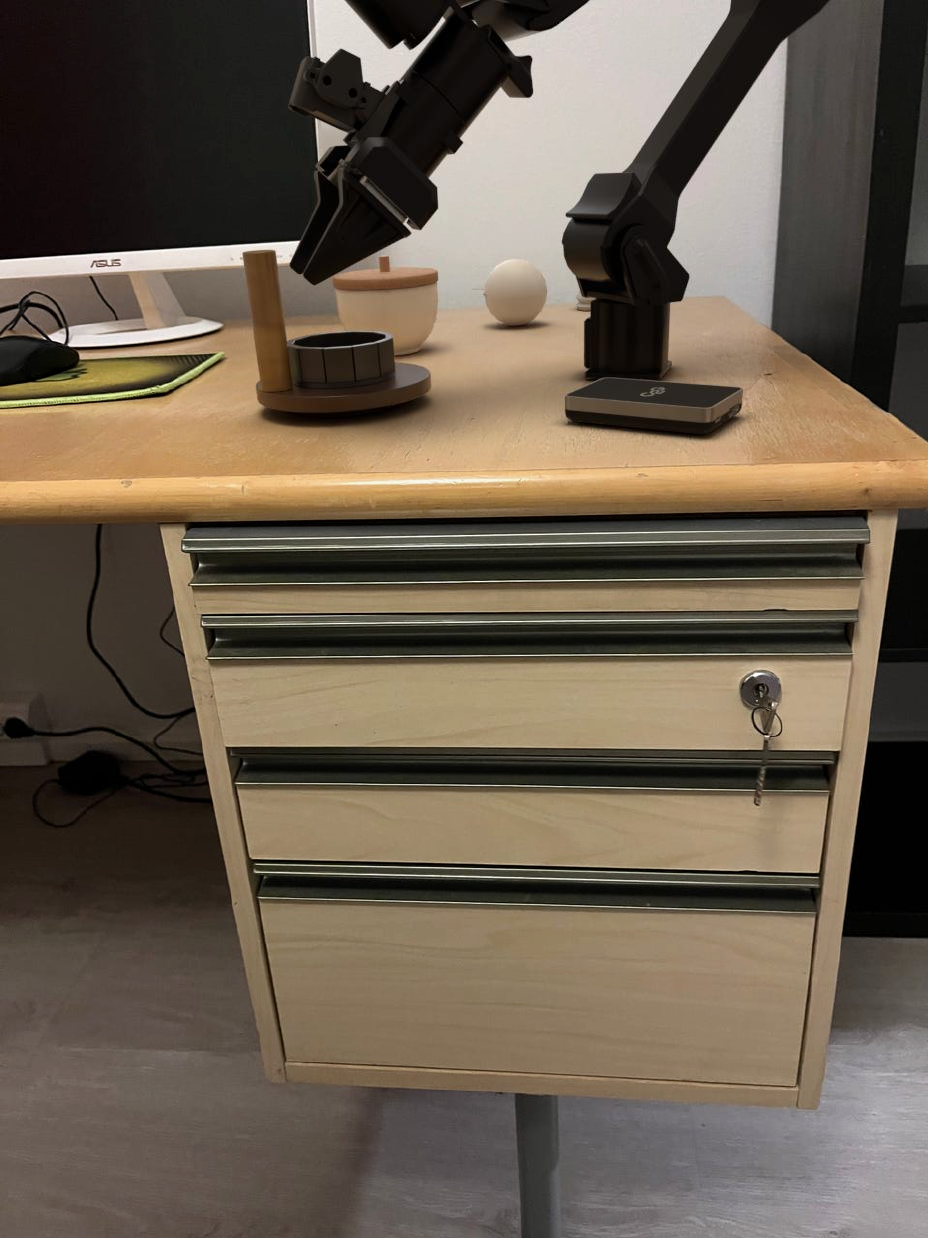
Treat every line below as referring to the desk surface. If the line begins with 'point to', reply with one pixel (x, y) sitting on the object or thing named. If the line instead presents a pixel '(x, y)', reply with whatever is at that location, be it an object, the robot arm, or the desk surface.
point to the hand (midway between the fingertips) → (300, 275)
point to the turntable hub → (347, 412)
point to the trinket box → (389, 303)
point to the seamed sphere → (515, 292)
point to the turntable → (321, 357)
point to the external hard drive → (654, 404)
